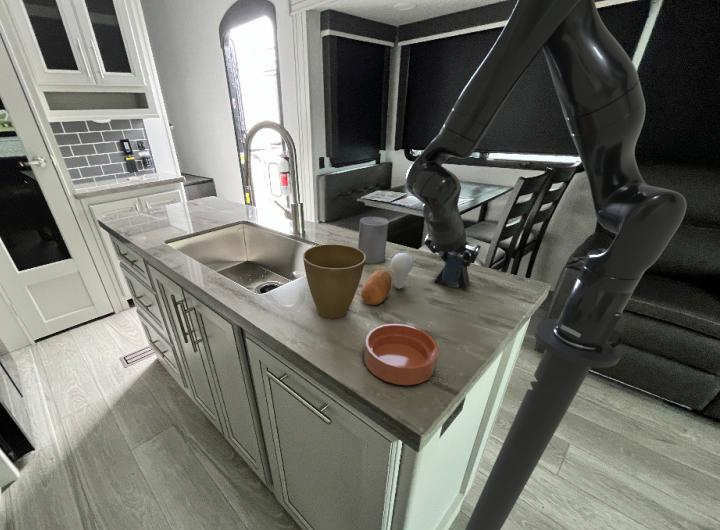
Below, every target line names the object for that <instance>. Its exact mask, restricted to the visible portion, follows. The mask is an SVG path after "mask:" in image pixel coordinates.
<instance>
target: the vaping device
mask: <svg viewBox="0 0 720 530" xmlns="http://www.w3.org/2000/svg"><path fill="white" fill-rule="evenodd" d="M448 253H449V252H448ZM462 267H463V262H462V260H461V259H458V258H457V257H456V256H455V255H454V254H452V253H449V255H448V256H447V259H446V261H445V262H444V266H443V268H444V271H443V276H442V278H443V281H445V282H446V283H448V284H450V285H451V286H456V285H458V284H459V279H460V275H461V271H462Z"/></svg>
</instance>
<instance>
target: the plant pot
mask: <svg viewBox="0 0 720 530" xmlns="http://www.w3.org/2000/svg"><path fill="white" fill-rule="evenodd" d="M302 259H303V266H304V271H305V276H306V281H307V284H308V288H309V291H310V294H311V297H312V300H313V303H314V305H315V307H316V310H317V312H318V314H319V315H320V316H321V317H323V318H324V319H329V320H336V319H341V318H343V317H345V316H346V314H347V312H348V311H349V309H350V306H351V305H352V302H353V300H354V298H355V295H356V293H357V290H358V288H359V285H360V282H361V278H362V275H363V271H364V267H365V264H366V263H365V259H366V256H365V254H364V253H363V252H362V251H361V250H359V249H358V247H355V246H351V245H348V244H347V245H346V244H338V243H337V244H336V243H326V244H324V243H323V244H319V245H315V246H311V247H309V248H308V249H306V250H305V251H304V252H303V253H302Z"/></svg>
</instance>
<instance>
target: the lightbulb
mask: <svg viewBox="0 0 720 530" xmlns="http://www.w3.org/2000/svg"><path fill="white" fill-rule="evenodd" d="M390 266H391V269H392V272H393V274H394V287H395V288H397V289H400V290H401V289H402V288H404V286H405V282H406V280H407V277H408V275H409V273H410V272H411V271H412V270H413V267H414V260H413V257H412V256H411V254H409V253H406V252H399V253H396V254H395V255H394V256H393V257H392V259H391V261H390Z"/></svg>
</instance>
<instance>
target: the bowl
mask: <svg viewBox="0 0 720 530" xmlns="http://www.w3.org/2000/svg"><path fill="white" fill-rule="evenodd" d="M439 349H440V348H439V346H438V343H437V342H436V340H435V339H434V338H433V337H432V336H431V335H430V334H428V333H427V332H425V331H424V330H422V329H420V328H417V327H415V326H412V325H407V324H403V323H386V324H382V325H379V326H376V327H373V328H372V329H371V330H370V331H369V332H368V333H367V334H366V337H365V339H364V351H363V354H364V355H363V358H364V359H363V361H364V363H365V366H366V367H367V369H368V370H369V371H370V372H371V373H372V374H373V375H374V376H376V377H377V378H379V379H381V380H382V381H384V382H387V383H390V384H394V385H398V386H399V385H400V386H413V385H418V384H421V383H423V382H426V381H427V380H429V379H430V378H431V377H432V376H433V374H434V373H435V370H436V365H437V361H438V357H439V352H440V350H439Z"/></svg>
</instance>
